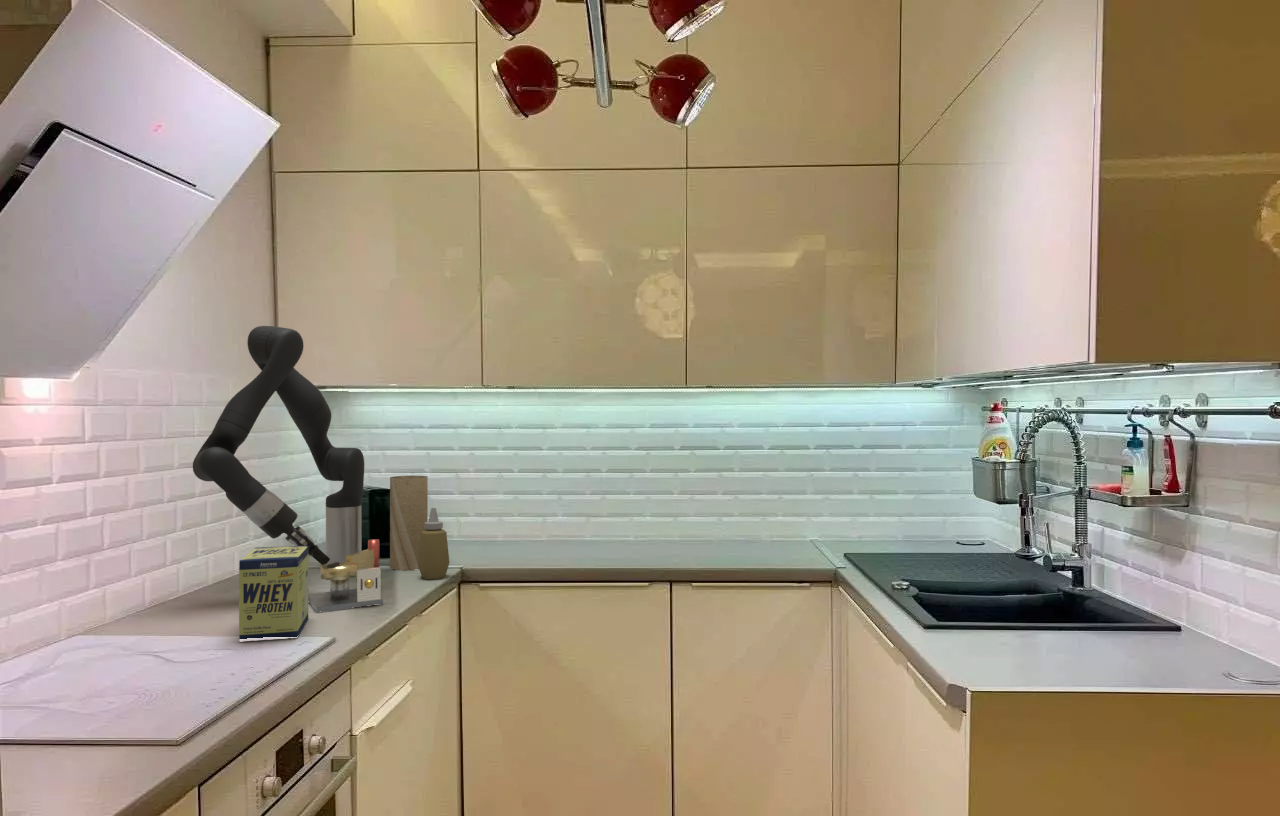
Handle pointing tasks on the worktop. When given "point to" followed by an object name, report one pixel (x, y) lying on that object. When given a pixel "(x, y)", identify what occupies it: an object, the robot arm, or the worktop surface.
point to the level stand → (350, 592)
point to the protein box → (273, 592)
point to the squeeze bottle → (433, 549)
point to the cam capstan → (352, 563)
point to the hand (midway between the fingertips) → (326, 562)
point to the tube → (407, 519)
